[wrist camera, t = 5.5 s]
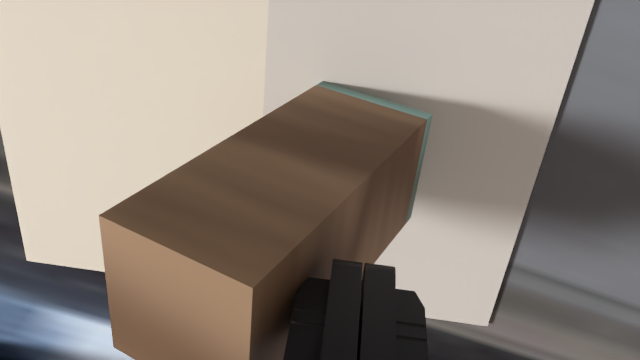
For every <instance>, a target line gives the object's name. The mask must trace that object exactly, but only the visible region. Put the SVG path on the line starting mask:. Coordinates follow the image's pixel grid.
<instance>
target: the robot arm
mask: <svg viewBox="0 0 640 360" xmlns="http://www.w3.org/2000/svg"><path fill="white" fill-rule="evenodd" d="M362 268H363V263H362V262H355V261H347V260H340V259H333V263H332V271H331V278H330V280H327V279H320V278H313V277H308V278H307V279H306V280H305V282H304V283H303V284H302V285H301V286H300V287H299V288H298V290H297V292H296V297H295V302H294V307H293V312H292V317H291V323H290V327H289V332H288V337H287V342H286V347H285V353H284V358H283V360H428V347H427V333H426V318H425V307H424V306H423V304H422V302H421V301H420V299H419V297H418V296H417V294H416V292H415V291H409V290H402V289H396V272H395V267H393V266H385V265H378V264H371V263H365V265H364V270H363V276H362Z"/></svg>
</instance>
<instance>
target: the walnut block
mask: <svg viewBox="0 0 640 360" xmlns="http://www.w3.org/2000/svg"><path fill="white" fill-rule="evenodd" d="M432 116H433V114H431V113H427V112H424V111H421V110H417V109H414V108H411V107H407V106H404V105H401V104H398V103H394V102H391V101H388V100H384V99H381V98H378V97H375V96H371V95H368V94H365V93H361V92H358V91H355V90H351V89H348V88H345V87H342V86H338V85H335V84H332V83H328V82H325V81H322V82H320V83H319V84H317V85H315V86H314V87H312V88H310V89H309V90H307V91H305V92H304V93H302V94H300V95H299V96H297V97H295V98H294V99H292V100H290V101H289V102H287V103H285V104H284V105H282V106H280V107H279V108H277V109H275V110H274V111H272V112H270V113H269V114H267V115H265V116H264V117H262V118H260V119H259V120H257V121H255V122H254V123H252V124H250V125H249V126H247V127H245V128H244V129H242V130H240V131H239V132H237V133H235V134H233V135H232V136H230V137H228V138H227V139H225V140H223V141H222V142H220V143H218V144H217V145H215V146H213V147H212V148H210V149H208V150H207V151H205V152H203V153H202V154H200V155H198V156H197V157H195V158H193V159H192V160H190V161H188V162H187V163H185V164H183V165H182V166H180V167H178V168H177V169H175V170H173V171H172V172H170V173H168V174H167V175H165V176H163V177H162V178H160V179H158V180H157V181H155V182H153V183H152V184H150V185H148V186H147V187H145V188H143V189H142V190H140V191H138V192H137V193H135V194H133V195H132V196H130V197H128V198H127V199H125V200H123V201H122V202H120V203H118V204H117V205H115V206H113V207H112V208H110V209H108V210H107V211H105V212H103V213H102V214H100V215H99V223H100V232H101V240H102V249H103V258H104V267H105V276H106V284H107V293H108V302H109V311H110V319H111V328H112V337H113V346H114V348H116V349H118V350H120V351H121V352H123V353H125V354H127V355H128V356H130V357H132V358H134V359H135V360H283V358H284V353H285V347H286V342H287V337H288V332H289V327H290V323H291V317H292V312H293V307H294V302H295V297H296V292H297V290H298V288H299V287H300V286H301V285H302V284H303V283H304V282H305V280H306V279H307V278H308V277H313V278H320V279H327V280H330V278H331V271H332V263H333V259H340V260H347V261H355V262H362V263H363V268H362V276H363V270H364V265H365V263H371V264H374V263H375V262H376V260H377V259H378V258H379V257H380V255H381V254H382V253H383V252H384V250H385V249H386V248H387V247H388V245H389V244H390V243H391V242H392V240H393V239H394V238H395V237H396V235H397V234H398V233H399V232H400V230H401V229H402V228H403V227H404V225H405V224H406V223H407V222H408V220H409V219H410V218H411V215H412V210H413V205H414V201H415V196H416V191H417V187H418V182H419V177H420V172H421V168H422V163H423V158H424V154H425V149H426V144H427V139H428V135H429V130H430V125H431V121H432Z"/></svg>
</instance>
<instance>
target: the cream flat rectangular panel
mask: <svg viewBox="0 0 640 360" xmlns="http://www.w3.org/2000/svg"><path fill="white" fill-rule="evenodd" d="M594 1H595V0H0V128H1V133H2V138H3V143H4V148H5V154H6V159H7V164H8V169H9V174H10V179H11V184H12V189H13V194H14V199H15V204H16V209H17V214H18V219H19V224H20V229H21V234H22V239H23V244H24V249H25V254H26V259H27V261H32V262H40V263H47V264H54V265H61V266H68V267H75V268H82V269H89V270H96V271H103V272H105V267H104V258H103V249H102V240H101V232H100V223H99V215H100V214H102V213H103V212H105V211H107V210H108V209H110V208H112V207H113V206H115V205H117V204H118V203H120V202H122V201H123V200H125V199H127V198H128V197H130V196H132V195H133V194H135V193H137V192H138V191H140V190H142V189H143V188H145V187H147V186H148V185H150V184H152V183H153V182H155V181H157V180H158V179H160V178H162V177H163V176H165V175H167V174H168V173H170V172H172V171H173V170H175V169H177V168H178V167H180V166H182V165H183V164H185V163H187V162H188V161H190V160H192V159H193V158H195V157H197V156H198V155H200V154H202V153H203V152H205V151H207V150H208V149H210V148H212V147H213V146H215V145H217V144H218V143H220V142H222V141H223V140H225V139H227V138H228V137H230V136H232V135H233V134H235V133H237V132H239V131H240V130H242V129H244V128H245V127H247V126H249V125H250V124H252V123H254V122H255V121H257V120H259V119H260V118H262V117H264V116H265V115H267V114H269V113H270V112H272V111H274V110H275V109H277V108H279V107H280V106H282V105H284V104H285V103H287V102H289V101H290V100H292V99H294V98H295V97H297V96H299V95H300V94H302V93H304V92H305V91H307V90H309V89H310V88H312V87H314V86H315V85H317V84H319V83H320V82H322V81H325V82H328V83H332V84H335V85H338V86H342V87H345V88H348V89H351V90H355V91H358V92H361V93H365V94H368V95H371V96H375V97H378V98H381V99H384V100H388V101H391V102H394V103H398V104H401V105H404V106H407V107H411V108H414V109H417V110H421V111H424V112H427V113H431V114H433V116H432V121H431V125H430V130H429V135H428V139H427V144H426V149H425V154H424V158H423V163H422V168H421V172H420V177H419V182H418V187H417V191H416V196H415V201H414V205H413V210H412V215H411V218H410V219H409V220H408V222H407V223H406V224H405V225H404V227H403V228H402V229H401V230H400V232H399V233H398V234H397V235H396V237H395V238H394V239H393V240H392V242H391V243H390V244H389V245H388V247H387V248H386V249H385V250H384V252H383V253H382V254H381V255H380V257H379V258H378V259H377V260H376V262H375V263H374V264H378V265H385V266H393V267H395V272H396V289H402V290H409V291H415V292H416V294H417V296H418V297H419V299H420V301H421V302H422V304H423V306H424V307H425V318H432V319H439V320H446V321H453V322H460V323H467V324H474V325H481V326H488V323H489V320H490V317H491V314H492V311H493V308H494V305H495V301H496V298H497V295H498V292H499V289H500V286H501V283H502V280H503V277H504V274H505V271H506V268H507V265H508V262H509V259H510V256H511V253H512V250H513V247H514V244H515V241H516V238H517V235H518V232H519V229H520V226H521V223H522V220H523V217H524V213H525V210H526V207H527V204H528V201H529V198H530V195H531V192H532V189H533V186H534V183H535V180H536V177H537V174H538V171H539V168H540V165H541V162H542V159H543V156H544V153H545V150H546V147H547V144H548V141H549V138H550V135H551V132H552V129H553V125H554V122H555V119H556V116H557V113H558V110H559V107H560V104H561V101H562V98H563V95H564V92H565V89H566V86H567V83H568V80H569V77H570V74H571V71H572V68H573V65H574V62H575V59H576V56H577V53H578V50H579V47H580V44H581V40H582V37H583V34H584V31H585V28H586V25H587V22H588V19H589V16H590V13H591V10H592V7H593V4H594Z"/></svg>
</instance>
